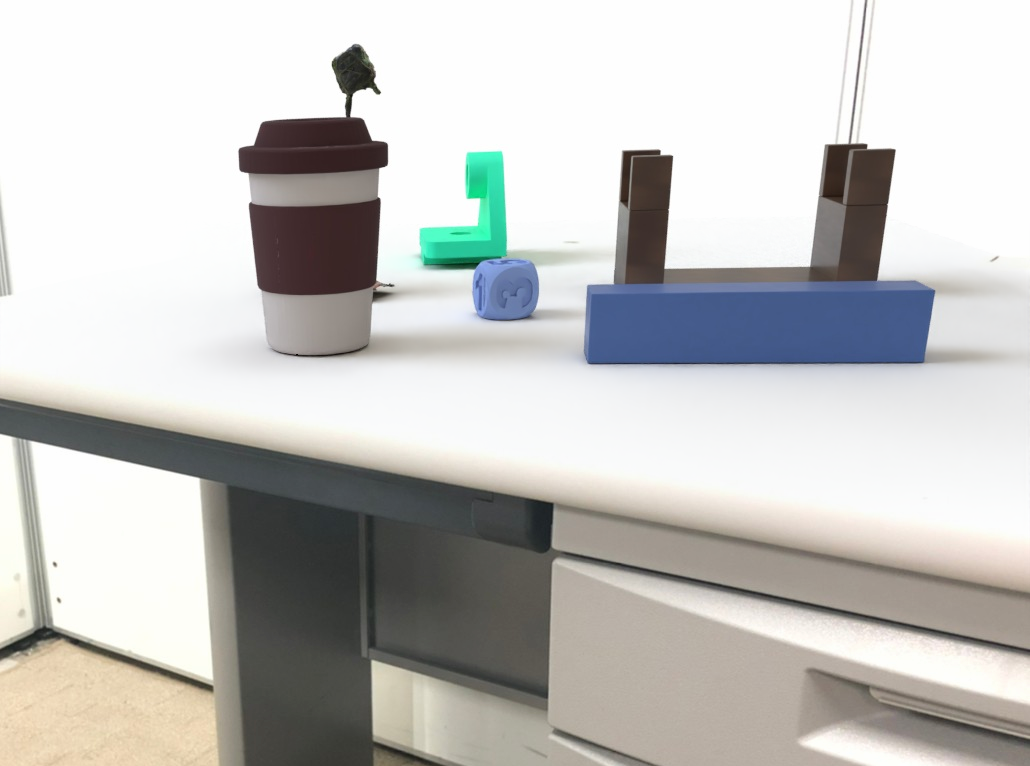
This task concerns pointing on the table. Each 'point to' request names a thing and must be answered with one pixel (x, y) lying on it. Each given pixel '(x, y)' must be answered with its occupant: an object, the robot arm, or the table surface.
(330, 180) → the coffee cup
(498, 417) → the table surface
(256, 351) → the table surface
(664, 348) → the rectangular block
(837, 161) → the holder
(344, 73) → the plant with pod
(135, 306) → the table surface
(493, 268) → the decorative dice
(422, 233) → the camera mount
